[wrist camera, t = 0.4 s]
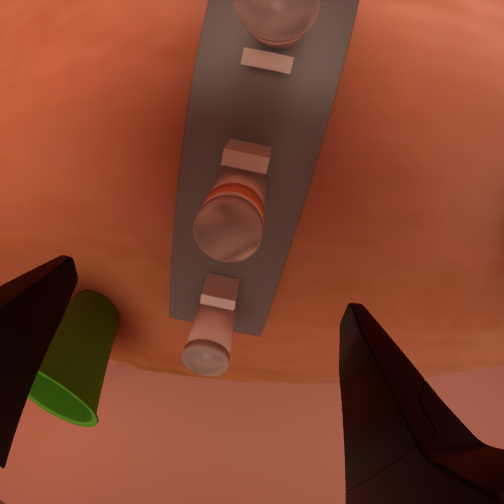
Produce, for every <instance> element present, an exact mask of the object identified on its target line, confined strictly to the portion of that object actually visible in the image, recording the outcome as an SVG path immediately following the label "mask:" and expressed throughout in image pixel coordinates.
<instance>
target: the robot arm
mask: <svg viewBox="0 0 504 504" xmlns="http://www.w3.org/2000/svg"><path fill="white" fill-rule="evenodd" d="M77 281H78V276H77V271H76V268H75V263H74V260H73V258H72V257H69V256H65V255H61V256H59V257H57V258H55V259H53V260H51V261H49V262H47V263H45V264H43V265H41V266H38V267H36V268H34V269H32V270H31V271H29V272H27V273H25V274H23V275H21V276H19V277H17V278H15V279H13V280H11V281H9V282H7V283H5V284H3V285H2V286H0V466H1V467H2V468H4V467H5V465H6V461H7V458H8V455H9V451H10V448H11V444H12V441H13V438H14V435H15V432H16V429H17V426H18V423H19V420H20V417H21V414H22V411H23V408H24V406H25V403H26V400H27V398H28V395H29V393H30V390H31V388H32V385H33V383H34V380H35V378H36V375H37V373H38V371H39V368H40V366H41V364H42V361H43V359H44V357H45V355H46V353H47V350H48V348H49V346H50V344H51V342H52V340H53V338H54V335H55V333H56V331H57V329H58V327H59V325H60V323H61V321H62V319H63V316H64V314H65V311H66V309H67V306H68V304H69V301H70V299H71V296H72V294H73V292H74V289H75V287H76V284H77ZM339 377H340V388H341V401H342V414H343V429H344V450H345V479H346V504H504V450H503V449H499V448H495V447H491V446H489V445H486V444H484V443H482V442H481V441H480V440H478V439H477V438H476V437H475V436H474V435H473V434H472V433H471V432H470V431H469V429H468V428H467V427H466V426H465V425H464V424H463V423H462V422H461V421H460V420H459V419H458V418H457V416H456V415H455V414H454V413H453V412H452V411H451V410H450V409H449V408H448V407H447V406H446V405H445V403H444V402H443V401H442V400H441V399H440V397H439V396H438V395H437V394H436V393H435V391H434V390H433V389H432V388H431V386H430V385H429V384H428V383H427V381H424V378H423V377H422V375H421V374H420V373H419V372H418V370H417V369H416V368H415V367H414V365H413V364H412V363H411V362H410V360H409V359H408V358H407V357H406V356H405V354H404V353H403V352H402V351H401V349H400V348H399V347H398V346H397V345H396V343H395V342H394V341H393V340H392V339H391V337H390V336H389V335H388V334H387V333H386V331H385V330H384V329H383V328H382V327H381V326H380V324H379V323H378V322H377V321H376V320H375V318H374V317H373V316H372V315H371V314H370V313H369V311H368V310H367V309H366V308H365V307H364V306H363V305H362V304H358V303H350V304H349V305H348V306H347V308H346V311H345V313H344V315H343V318H342V320H341V323H340V346H339ZM0 504H5V503H3V502H2V501H0Z"/></svg>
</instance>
